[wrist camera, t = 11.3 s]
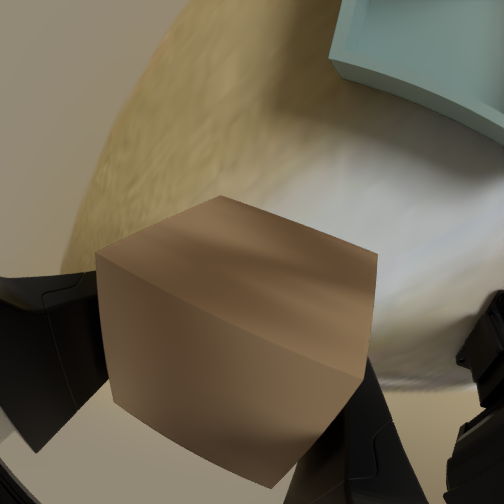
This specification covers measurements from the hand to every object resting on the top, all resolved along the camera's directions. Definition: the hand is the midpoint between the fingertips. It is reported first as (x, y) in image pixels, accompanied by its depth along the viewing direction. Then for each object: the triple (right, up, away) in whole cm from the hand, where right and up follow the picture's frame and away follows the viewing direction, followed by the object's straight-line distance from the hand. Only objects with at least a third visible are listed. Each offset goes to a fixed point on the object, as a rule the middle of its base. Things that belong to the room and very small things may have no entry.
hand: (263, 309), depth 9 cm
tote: (+13, +17, +1) cm, 21 cm away
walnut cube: (0, 0, +1) cm, 1 cm away
